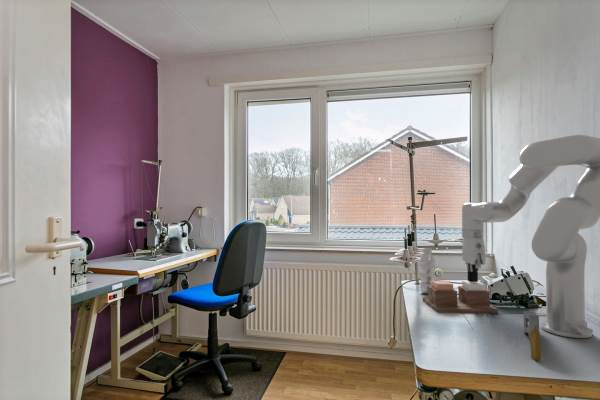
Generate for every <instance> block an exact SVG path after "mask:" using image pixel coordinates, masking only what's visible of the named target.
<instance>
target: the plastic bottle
mask: <svg viewBox="0 0 600 400" xmlns="http://www.w3.org/2000/svg"><path fill="white" fill-rule="evenodd" d="M432 254H433V251H432V248H427V247H426V248H422V255H421V257H420V259H419V264H420V272H421V273H420V284H419V289H420V290H419V291H420V292H421V293H422V294H425V295H428V286H432V281H435V273H434V272H435V266H436V259H435V257H434V255H432Z"/></svg>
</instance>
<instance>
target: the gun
mask: <svg viewBox="0 0 600 400" xmlns="http://www.w3.org/2000/svg"><path fill="white" fill-rule="evenodd" d="M522 314H523V333H524V334H528V339H529V341H530V358H531V359H532V360H533V361H535V362H540V361H542V349H541V340H540V339H541V338H540V316H539V315H538V314H537V313H535V312H534V311H529V310H524V311H523V313H522Z"/></svg>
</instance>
